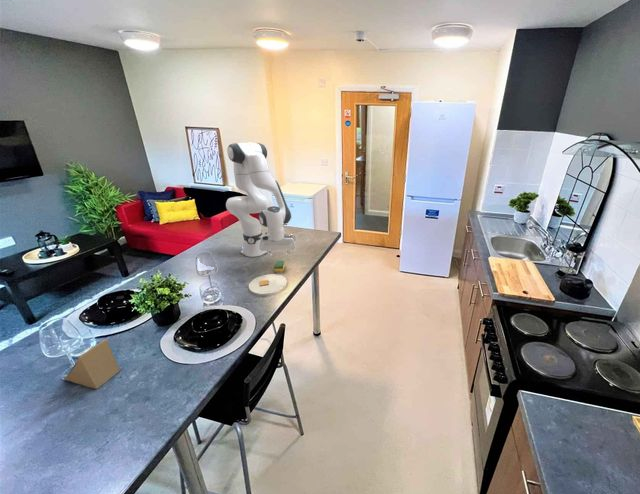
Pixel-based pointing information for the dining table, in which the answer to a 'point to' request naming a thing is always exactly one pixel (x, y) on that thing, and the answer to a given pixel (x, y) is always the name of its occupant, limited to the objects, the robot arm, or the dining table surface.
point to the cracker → (264, 282)
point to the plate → (274, 284)
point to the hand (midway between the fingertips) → (279, 256)
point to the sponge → (279, 265)
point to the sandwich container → (94, 366)
